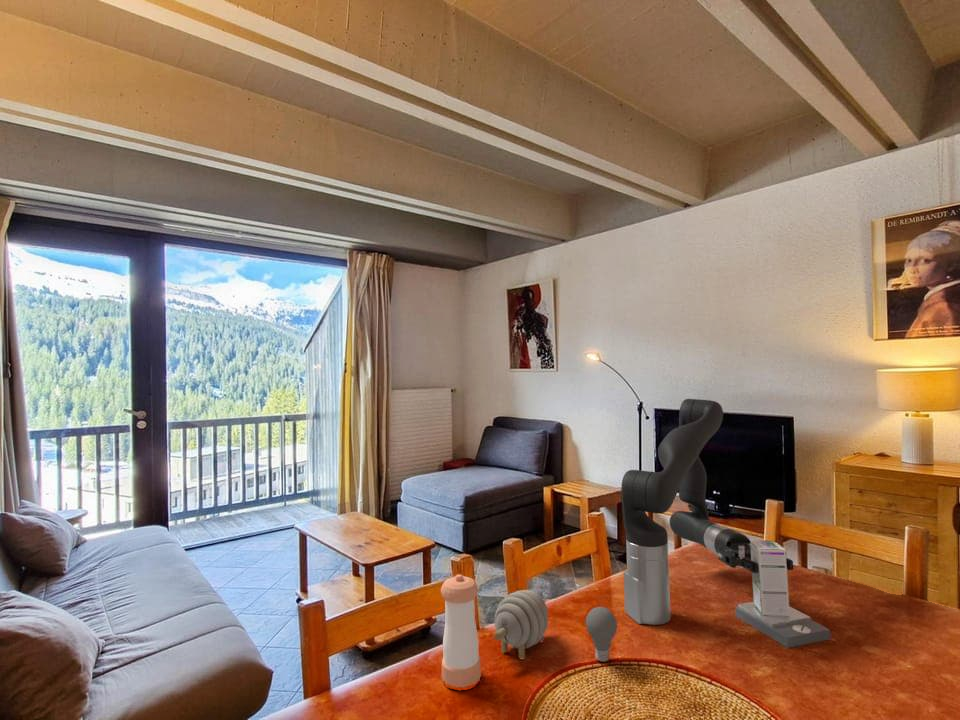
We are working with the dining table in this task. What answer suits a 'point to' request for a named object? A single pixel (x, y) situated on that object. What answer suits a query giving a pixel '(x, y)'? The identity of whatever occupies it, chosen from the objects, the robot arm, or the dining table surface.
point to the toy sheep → (521, 620)
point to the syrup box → (770, 578)
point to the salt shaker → (460, 633)
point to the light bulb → (601, 630)
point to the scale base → (788, 631)
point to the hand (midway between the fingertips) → (774, 567)
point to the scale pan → (775, 620)
